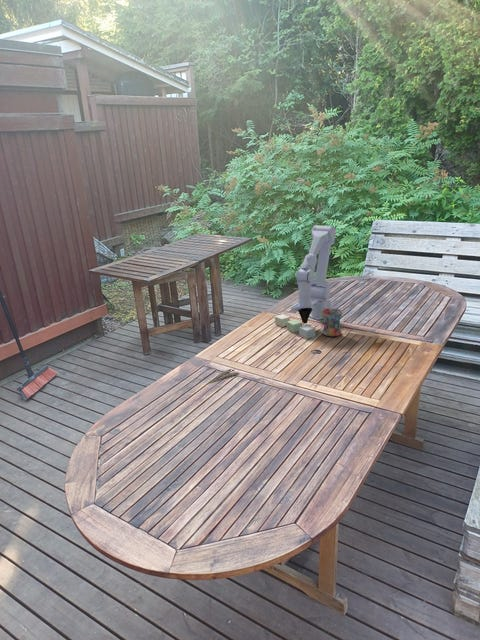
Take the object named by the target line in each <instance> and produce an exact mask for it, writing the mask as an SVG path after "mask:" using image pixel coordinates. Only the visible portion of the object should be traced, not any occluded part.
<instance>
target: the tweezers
mask: <svg viewBox="0 0 480 640" xmlns="http://www.w3.org/2000/svg"><path fill="white" fill-rule="evenodd" d="M232 369H233V368H229V369H227V370H225V371H223V372H222V373H220V374H218V375H217V376H216V377H214V378H212V379H210V380H209V381H208V382H207V383H204V386H206V385H210V384H212V383H214V382H218V381H220V380H223V379H226V378H229V377H231V375H232V376H234V374H236V375H238V372H239V371H236V372H235V369H233V370H234V371H233V372H232V371H231V370H232ZM229 371H230V372H229ZM227 372H228V373H227ZM226 373H227V374H226ZM224 374H225V375H224ZM222 375H223V376H222ZM220 376H221V377H220ZM228 376H229V377H228ZM218 377H219V378H218ZM225 377H226V378H225ZM216 378H217V379H216ZM222 378H223V379H222Z"/></svg>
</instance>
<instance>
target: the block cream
mask: <svg viewBox="0 0 480 640" xmlns="http://www.w3.org/2000/svg"><path fill="white" fill-rule="evenodd" d="M287 321H291V317H290V316H289V315H286V314H284V313H282V314H279V315H275V316H274V324H275V325H277V326H279V327H281V328H282V327H287Z"/></svg>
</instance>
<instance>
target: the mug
mask: <svg viewBox="0 0 480 640" xmlns="http://www.w3.org/2000/svg"><path fill="white" fill-rule="evenodd" d="M321 313H322V315H323V328H322V330H321V333H322V334H323V335H324V336H326V337H337V336H340V335H341V334H342V331H341V328H340V323H341V322H340V321H341V318H342V316H343V313H344V311H343V310H341V309H339V308H334V307H331V308H328V309H324V310H322V311H321Z"/></svg>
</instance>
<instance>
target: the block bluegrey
mask: <svg viewBox="0 0 480 640" xmlns="http://www.w3.org/2000/svg"><path fill="white" fill-rule="evenodd" d="M298 336H300V337H302V338H304V339H306V340H307V339H310V338H314V337H316V327H314V326H311V325H309V324H305V325H302V327H299V331H298Z"/></svg>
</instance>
